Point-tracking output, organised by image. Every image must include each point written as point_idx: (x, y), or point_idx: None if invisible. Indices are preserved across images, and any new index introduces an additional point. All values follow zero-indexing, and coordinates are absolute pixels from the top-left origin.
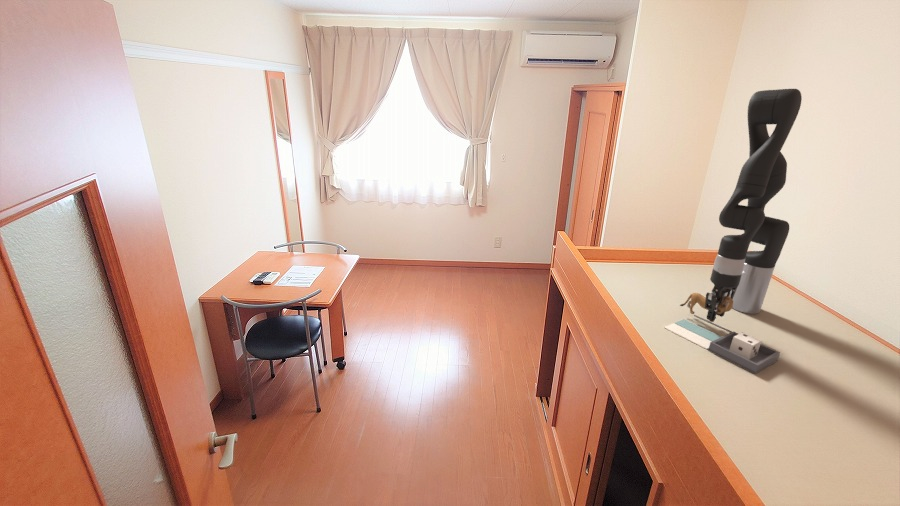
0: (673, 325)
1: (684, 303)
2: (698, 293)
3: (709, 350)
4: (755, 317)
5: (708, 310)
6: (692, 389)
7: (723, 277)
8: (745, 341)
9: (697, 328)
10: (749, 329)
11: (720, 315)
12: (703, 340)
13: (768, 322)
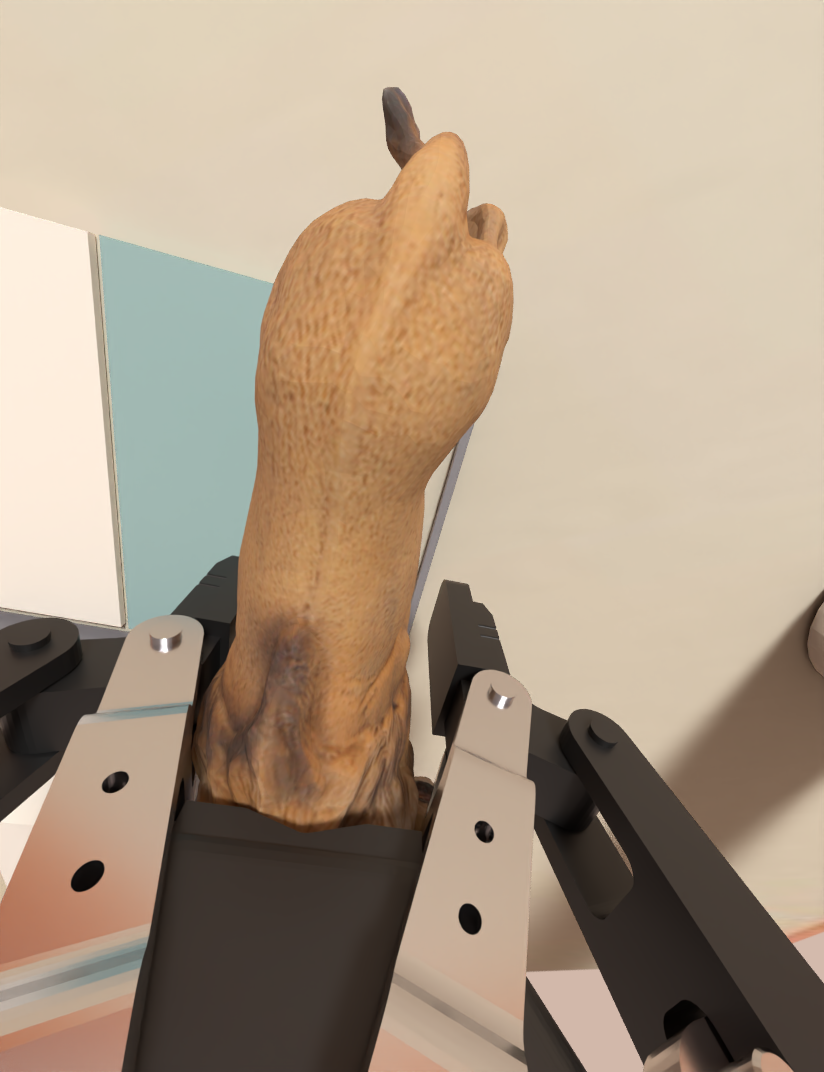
0: (30, 250)
1: (410, 151)
2: (397, 372)
3: None
4: (762, 682)
5: (207, 601)
6: None
7: None
8: (11, 867)
9: (217, 464)
10: (538, 694)
11: (432, 620)
12: (64, 557)
13: (721, 735)
